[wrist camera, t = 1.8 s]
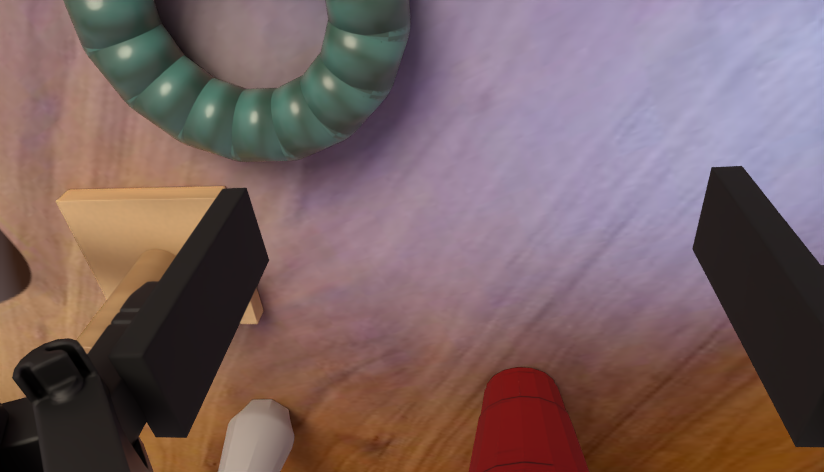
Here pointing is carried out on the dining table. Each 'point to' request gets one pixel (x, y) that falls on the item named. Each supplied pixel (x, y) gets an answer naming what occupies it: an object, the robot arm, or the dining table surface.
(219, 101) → the ring
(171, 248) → the peg stand
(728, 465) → the dining table surface
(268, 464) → the salt shaker
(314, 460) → the dining table surface
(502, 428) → the plastic cup
